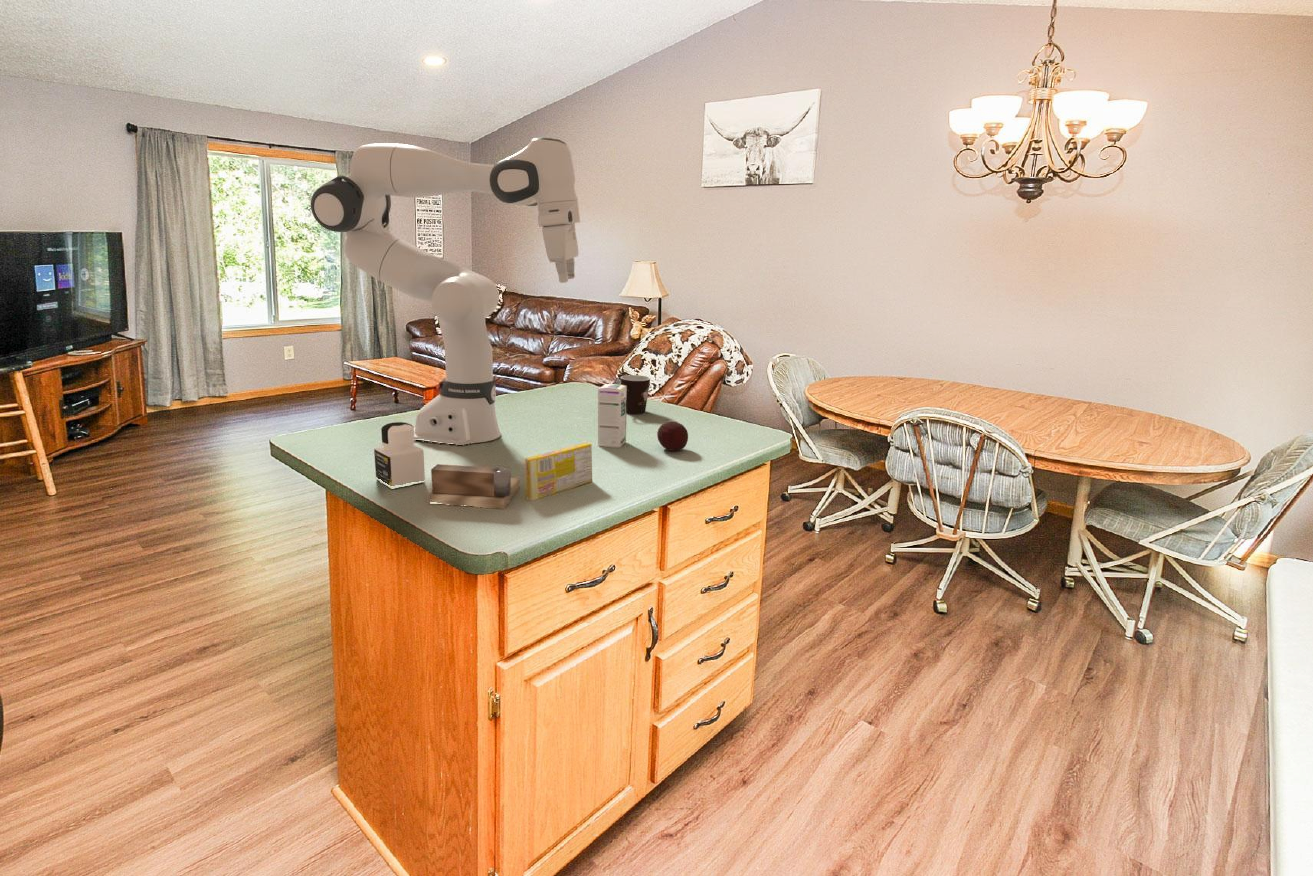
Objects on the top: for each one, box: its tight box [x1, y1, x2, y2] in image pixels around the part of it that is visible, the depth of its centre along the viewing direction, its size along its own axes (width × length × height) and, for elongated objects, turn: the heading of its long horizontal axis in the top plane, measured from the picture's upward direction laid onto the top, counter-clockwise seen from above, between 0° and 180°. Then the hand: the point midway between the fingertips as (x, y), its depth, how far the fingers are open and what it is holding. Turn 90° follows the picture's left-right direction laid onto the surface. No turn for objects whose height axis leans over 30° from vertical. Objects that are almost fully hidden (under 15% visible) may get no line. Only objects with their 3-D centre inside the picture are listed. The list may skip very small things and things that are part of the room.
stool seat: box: [428, 477, 521, 510], centre depth 141 cm, size 14×12×2 cm
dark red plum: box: [656, 421, 689, 452], centre depth 176 cm, size 7×8×7 cm
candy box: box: [524, 442, 593, 501], centre depth 145 cm, size 16×2×8 cm, turn 139°
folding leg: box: [430, 463, 512, 497], centre depth 136 cm, size 14×4×4 cm, turn 86°
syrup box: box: [597, 383, 627, 449], centre depth 177 cm, size 6×6×14 cm
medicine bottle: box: [373, 421, 426, 486], centre depth 145 cm, size 7×7×12 cm
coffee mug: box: [620, 374, 651, 415], centre depth 211 cm, size 12×9×10 cm
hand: (567, 280), depth 164 cm, fingers open, 8 cm apart
